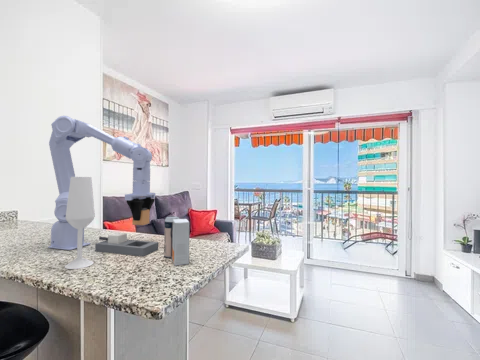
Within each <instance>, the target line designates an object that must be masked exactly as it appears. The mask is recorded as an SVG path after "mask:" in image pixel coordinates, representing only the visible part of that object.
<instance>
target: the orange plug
mask: <svg viewBox="0 0 480 360" xmlns="http://www.w3.org/2000/svg"><path fill="white" fill-rule="evenodd" d="M150 211H151V209H150V210H148V209H147V208H142V209H141V217H140V220H139V221H136V220H133V219H132V225H135V226H145V225H148V224H150V215H151V214H150Z"/></svg>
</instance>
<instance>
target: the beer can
mask: <svg viewBox="0 0 480 360" xmlns="http://www.w3.org/2000/svg"><path fill="white" fill-rule="evenodd" d="M173 219H180V217H179V216H167V217H165V219H164V235H163V236H164V237H163V238H164V239H163V243H164V244H163V256H164V257H166V258H169V259H172V238H173Z"/></svg>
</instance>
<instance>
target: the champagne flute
mask: <svg viewBox="0 0 480 360" xmlns="http://www.w3.org/2000/svg"><path fill="white" fill-rule="evenodd" d="M95 217H96V214H95V204H94V191H93V179H92V177H91V176H90V177H89V176H75V177H71V180H70V187H69V195H68V202H67V210H66V217H65V218H66V220H67V222H68V223H69V224H70V225H71V226H73V227H74V228H76V229H78V239H77V248H76V258H74V259H73V260H71V261H70V262H69V263H67V264H65V266H64V268H65V269H67V270H76V269H85V268H87V267H90V266H92V265H94V261H92V260H90V259H87V258H86V257H83V247H82V243H83V229H84V230H85V228H86V227H88V226H89V225H90V224H91V223H92V222H93V221H94V219H95Z"/></svg>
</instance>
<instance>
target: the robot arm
mask: <svg viewBox="0 0 480 360" xmlns="http://www.w3.org/2000/svg"><path fill="white" fill-rule="evenodd" d="M50 126H51V130H52V131H51V135H50V138H49V142H48V146H49V150H50V155H51V160H52V165H53V170H54V174H55V180H56V184H57V189H58V194H59V195H58V196H57V197H56V198H55V201H54V202H55V208H54V216H55V218H56V219H57V221H56V222H54V223H53V224H52V226H51V228H50V229H51V230H50V245H48V247H47V248H49V249H55V250H56V249H57V250H65V251H72V250H75V249H76V250H77V239H78V229H76V228H74V227H73V226H71V225H70V224H69V223H68V222H67V220H66V218H65V217H66V210H67V202H68V195H69V187H70V180H71V177H76V174H75V169H74V164H73V157H72V154H71V147H72V146H73V145H74V144H77V143H78V142H79V141H82V140H83V139H85V138H91V137H93V138H94V139H97V140H99V141H101V142H103V143H105V144H108V145H109V146H111V149H112V151H114V152H116V153H118V154H119V155H121V156H123V157H126V158H128V159H129V160H130V159H131V160H132V162H133V165H132V167H133V168H132V193H128V194H127V193H125V194H124V201H126V203H127V205H128V208H129V209H130V213H131V216H132V221H133V220H136V221H139V220H140V217H141V209H142V208H147V209H148V210H150V211H151V209H152V206H153V205H154V203H155V199H156V192H151V162H152V160H153V154H152V152H151V151H150V150H149V149H148V148H146V147H143V146H142V145H141V143H135V142H133V141H132V140H130V138H129V137H127V136H121V135H120V136H118V137H117V136H116V137H115V136H113V135H112V134H109V133H107V132H106V131H104V130H102V129H100V128H98V127H96V126H94V125H92V124H90V123H87V122H84V121H81V120H78V119H76V118H72V117H71V116H68V115H61V116H58V117H56V119H54V121H53V122H52V123H51V125H50ZM89 245H91V243H90V242H85V228H84V229H83V243H82V248H83V247H86V246H89Z"/></svg>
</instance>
